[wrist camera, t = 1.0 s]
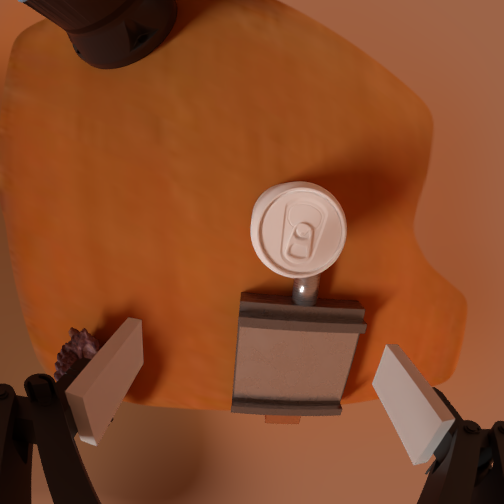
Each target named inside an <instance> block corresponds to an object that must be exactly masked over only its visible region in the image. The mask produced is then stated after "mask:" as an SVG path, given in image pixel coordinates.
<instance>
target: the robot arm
mask: <svg viewBox="0 0 504 504" xmlns="http://www.w3.org/2000/svg"><path fill="white" fill-rule="evenodd" d="M18 1H19V2H23V3H24V4H26V5H28V6H29V7H31V8H33V9H34V10H35V11H37V12H38V13H40V14H41V15H43V16H45V17H46V18H48V19H49V20H51V21H52V22H54V23H55V24H56V25H58V26H59V27H61V28H62V29H64V30H65V31H66V32H67V34H68V36H69V39H70V41H71V42H72V44H73V47H74V50H75V52H76V53H77V55H78V56H79V57H80V58H81V59H82V60H84V61H85V62H87V63H88V64H90V65H91V66H93V67H96V68H100V69H114V68H119V67H123V66H126V65H129V64H131V63H134V62H136V61H138V60H140V59H141V58H143V57H145V56H146V55H148V54H149V53H150V52H152V51H153V50H154V49H155V48H156V47H157V46H158V45H159V44H160V43H161V42H162V41H163V40H164V39H165V38H166V36H167V35H168V34H169V32H170V31H171V29H172V27H173V25H174V22H175V19H176V15H177V6H176V2H175V0H18ZM143 363H144V360H143V342H142V320H140V319H135V318H130V317H128V318H127V319H126V321H125V322H124V323H123V324H122V325H121V326H120V327H119V328H118V330H117V331H116V332H115V333H114V334H113V335H112V336H111V338H110V339H109V340H108V341H107V342H106V343H105V344H104V346H103V347H102V348H101V349H100V350H99V351H98V353H97V354H96V355H95V356H94V357H93V358H92V359H89V358H85V357H83V358H81V359H79V360H77V361H75V362H74V363H73V364H72V365H71V367H70V368H69V369H68V370H67V371H66V372H65V374H63V375H62V377H61V378H60V379H59V380H58V381H57V382H56V383H55V381H54V379H53V378H52V377H51V376H50V375H47V374H34V375H31V376H30V377H28V378H27V379H26V380H25V382H24V388H25V390H26V393H27V396H28V397H23V396H18V395H16V393H15V391H14V389H13V388H12V387H11V386H10V385H7V384H0V504H31V469H32V452H33V444H37V446H38V450H39V454H40V458H41V463H42V466H43V470H44V473H45V477H46V480H47V484H48V487H49V490H50V493H51V496H52V499H53V502H54V504H101V502H100V500H99V498H98V496H97V494H96V492H95V490H94V487H93V486H92V483H91V481H90V479H89V477H88V474H87V471H86V469H85V467H84V464H83V462H82V459H81V456H80V454H79V451H78V448H77V446H76V443H75V440H74V437H75V435H76V433H77V432H78V434H79V437H80V439H81V441H84V442H87V443H89V444H92V445H95V446H97V445H98V444H99V442H100V440H101V438H102V436H103V434H104V432H105V431H106V429H107V427H108V425H109V423H110V421H111V420H112V418H113V416H114V414H115V412H116V411H117V409H118V407H119V405H120V404H121V402H122V400H123V398H124V396H125V395H126V393H127V391H128V389H129V388H130V386H131V384H132V382H133V381H134V379H135V377H136V375H137V374H138V372H139V370H140V369H141V367H142V365H143ZM372 385H373V387H374V389H375V391H376V393H377V394H378V396H379V398H380V400H381V402H382V404H383V406H384V408H385V409H386V411H387V413H388V415H389V417H390V419H391V421H392V423H393V425H394V427H395V429H396V431H397V433H398V435H399V437H400V439H401V441H402V443H403V445H404V446H405V449H406V451H407V453H408V455H409V457H410V459H411V461H412V463H413V465H417V464H421V463H426V462H427V461H428V460H429V459H430V457H431V456H432V454H434V455H435V457H436V460H435V461H434V462H433V464H432V465H431V466H430V468H429V469H428V470H427V471H426V473H425V474H428V472H429V471H430V472H429V475H428V478H427V480H426V483H425V485H424V488H423V490H422V493H421V495H420V498H419V500H418V502H417V504H504V421H497V422H495V424H494V425H493V427H492V428H491V429H481V428H480V426H479V425H478V424H477V423H475V422H473V421H470V420H463V419H462V418H461V416H460V415H459V414H458V412H457V411H456V410H455V409H454V407H453V406H452V405H451V404H450V402H449V401H448V400H447V398H446V397H445V396H444V394H443V393H442V392H441V391H439V390H438V389H436V388H435V387H431V386H430V384H429V383H428V382H427V381H426V379H425V378H424V377H423V375H422V374H421V373H420V372H419V370H418V369H417V368H416V367H415V365H414V364H413V363H412V362H411V360H410V359H409V358H408V357H407V355H406V354H405V353H404V352H403V350H402V349H401V348H400V347H399V345H398V344H386V346H385V349H384V352H383V355H382V358H381V361H380V364H379V367H378V369H377V372H376V375H375V377H374V380H373V383H372ZM492 463H493V467H492V465H491V464H492Z"/></svg>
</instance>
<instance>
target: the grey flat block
mask: <svg viewBox="0 0 504 504" xmlns="http://www.w3.org/2000/svg"><path fill="white" fill-rule="evenodd" d="M320 277H321V273H319V274H317V275H314V276H311V277H306V278H294V285H293V293H292V296H279V295H267V294H255V293H244V292H241V299H240V310H239V319H238V334H237V346H236V358H235V371H234V383H233V396H232V406H231V412H234V413H245V414H260V415H265V423H277V424H299V422H300V418H301V416H331V415H340V414H341V412H342V407H341V404H340V401H341V398H342V395H343V392H344V388H345V385H346V382H347V378H348V375H349V372H350V368H351V365H352V361H353V358H354V354H355V350H356V346H357V343H358V339H359V335H360V333H363V334H365V331H366V327H367V324H366V322H365V321H364V320H363V318H364V314H365V308H364V307H363V306H362V305H361V304H360V303H359V302H358V301H352V300H335V299H320V298H317V296H318V290H319V284H320Z"/></svg>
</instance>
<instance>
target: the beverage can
mask: <svg viewBox="0 0 504 504" xmlns="http://www.w3.org/2000/svg"><path fill="white" fill-rule="evenodd" d="M346 236H347V223H346V218H345V214H344V211H343V209H342V207H341V205H340V204H339V202H338V201H337V199H336V198H335V197H334V196H333V195H332V194H331V193H330V192H329V191H327V190H326V189H324V188H323V187H321V186H319V185H316V184H314V183H310V182H304V181H295V182H288V183H283V184H278V185H275V186H273V187H271V188H269V189H267V190H266V191H265V192H264V193H263V194H262V195H261V196H260V197H259V198H258V200H257V201H256V203H255V206H254V209H253V213H252V220H251V240H252V244H253V247H254V249H255V251H256V253H257V255H258V257H259V258H260V259H261V261H262V262H263V263H264V264H265V265H266V266H267V267H268V268H270V269H271V270H272V271H274V272H276V273H278V274H280V275H283V276H286V277H291V278H306V277H311V276H314V275H317V274H319V273H321V272H323V271H324V270H326V269H327V268H329V267H330V266H331V265H332V264H333V263H334V262H335V261H336V260H337V258H338V257H339V255H340V254H341V252H342V250H343V247H344V244H345V241H346Z"/></svg>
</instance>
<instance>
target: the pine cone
mask: <svg viewBox="0 0 504 504" xmlns="http://www.w3.org/2000/svg"><path fill="white" fill-rule="evenodd" d="M69 335H70V336H71V341H70V342H68V343H65V345H63V346H62V349H61V352H60V353H58V355H57V360H58V361H57V362H56V363H55V366H56V370H57V371H56V372H55V373H54V377H55V379H56V381H58V380H59V379H60V378H61V377H62V375H63V374H65V372H66V371H67V370H68V369H69V368H70V367H71V365H72V364H73V363H74V362H75V361H77V360H79V359H81V358H83V357H85V358H89V359H92V358H93V357H94V356H95V355H96V354H97V353H98V351H99V350H100V349H101V348H102V347H100V345H99V340H96V339H95V337H93V336H91V334H89V333H88V331H87V330H86V329H85V328H84V329H83V330H82V331H81V332H79V331H78V330H77V329H74V328H71V329H70V330H69ZM112 421H113V418H112V420H111V421H110V422H112ZM108 426H109V425H108Z"/></svg>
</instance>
